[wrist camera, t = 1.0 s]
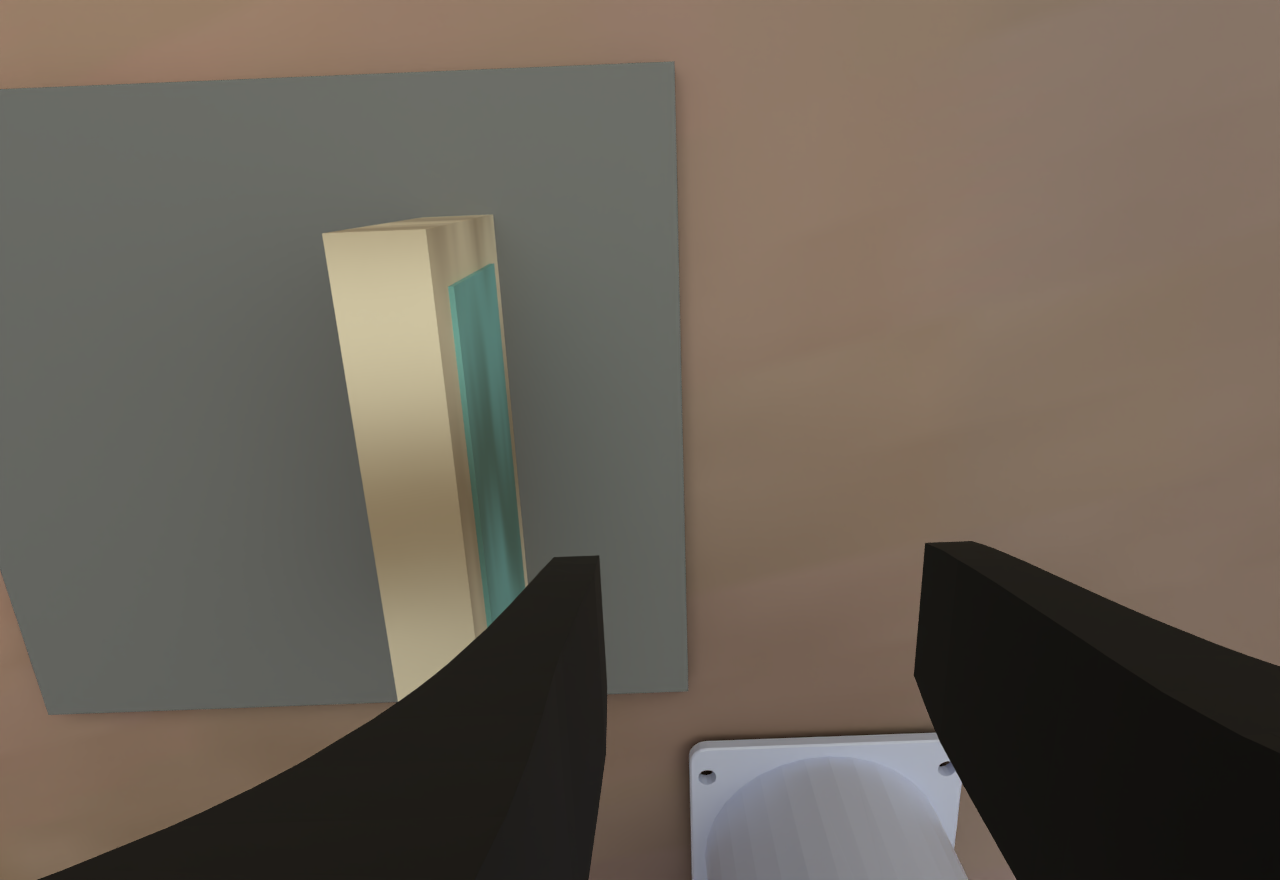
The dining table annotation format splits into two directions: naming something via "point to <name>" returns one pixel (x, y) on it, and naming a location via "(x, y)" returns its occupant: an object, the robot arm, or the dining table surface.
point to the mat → (316, 367)
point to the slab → (431, 429)
